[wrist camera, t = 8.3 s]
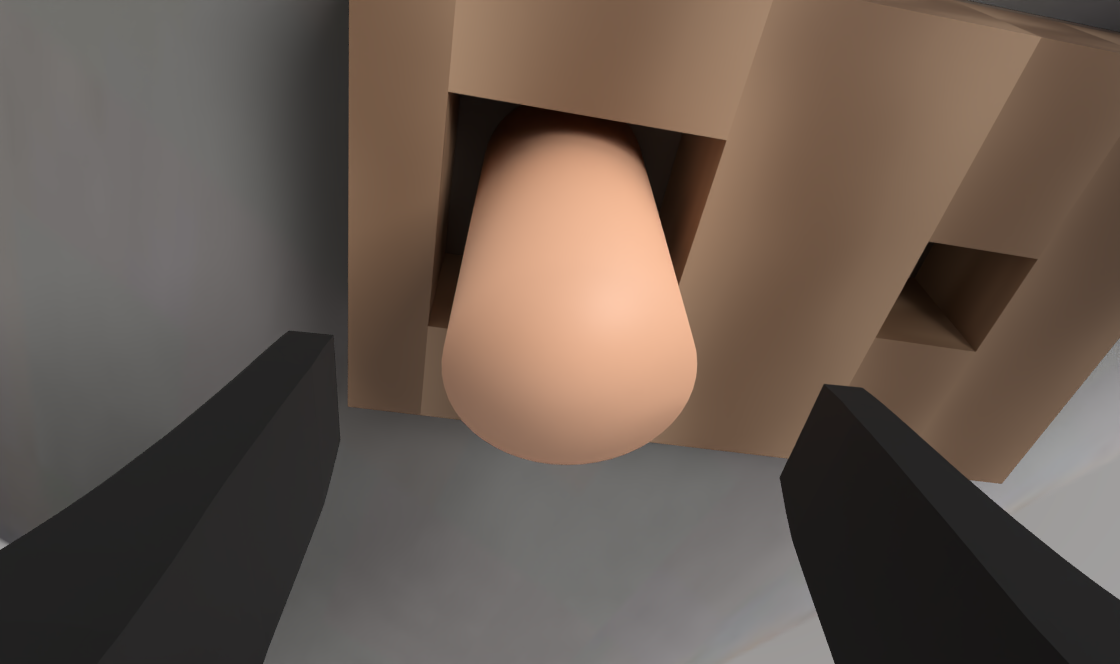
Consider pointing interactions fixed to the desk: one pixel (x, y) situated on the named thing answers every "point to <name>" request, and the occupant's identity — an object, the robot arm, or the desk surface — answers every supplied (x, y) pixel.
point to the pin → (566, 297)
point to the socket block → (772, 199)
